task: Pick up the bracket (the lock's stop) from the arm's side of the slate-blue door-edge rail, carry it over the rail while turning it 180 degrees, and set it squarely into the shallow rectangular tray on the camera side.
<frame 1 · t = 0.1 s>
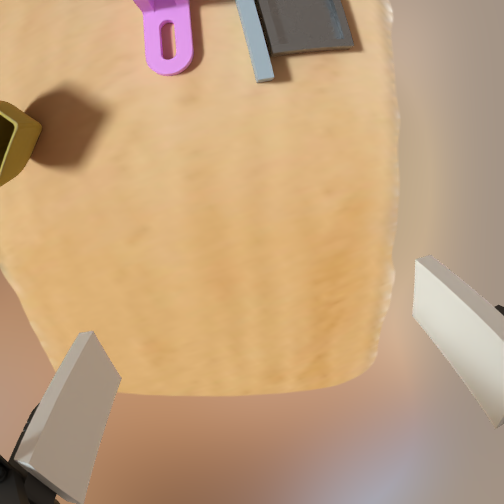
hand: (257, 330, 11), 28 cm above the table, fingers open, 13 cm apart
flower pot: (26, 136, 32), on the table
door edge: (244, 4, 28), on the table
bracket: (169, 29, 29), on the table
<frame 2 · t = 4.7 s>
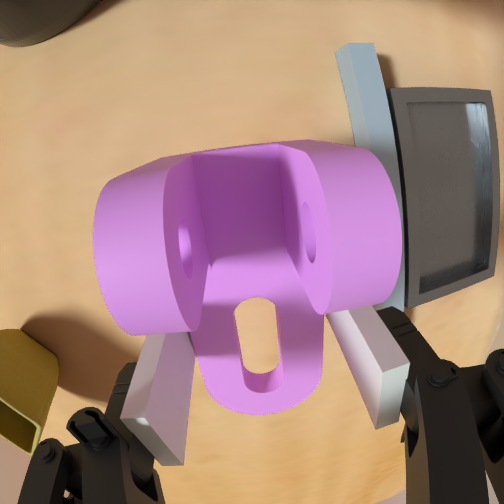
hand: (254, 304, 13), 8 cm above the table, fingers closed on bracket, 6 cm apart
flower pot: (35, 355, 24), on the table
shallow rectangular tray: (444, 191, 20), on the table
door edge: (375, 206, 20), on the table
bracket: (253, 297, 14), point 8 cm above the table, touching gripper
when the fingers open (2 cm above the table, at t = 8.8 s): bracket drops 1 cm, resting on shallow rectangular tray.
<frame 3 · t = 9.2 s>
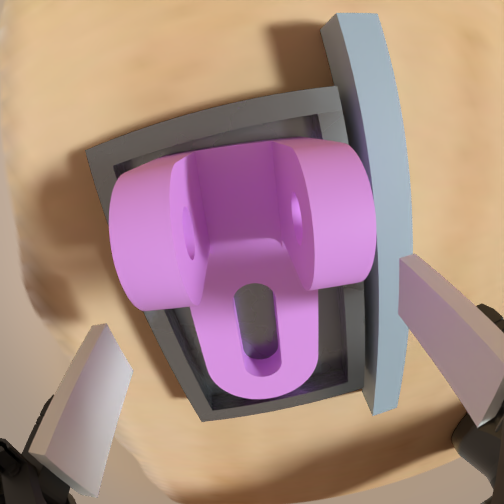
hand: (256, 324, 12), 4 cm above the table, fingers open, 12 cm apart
shallow rectangular tray: (250, 278, 15), on the table
door edge: (374, 248, 15), on the table
bracket: (252, 284, 15), point 1 cm above the table, touching shallow rectangular tray
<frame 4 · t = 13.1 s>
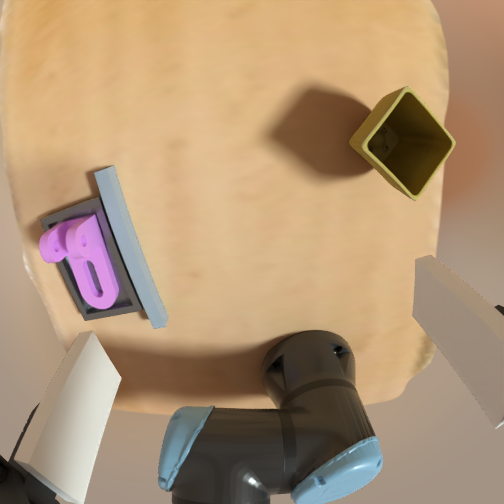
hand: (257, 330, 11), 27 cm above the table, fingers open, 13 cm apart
flower pot: (375, 138, 34), on the table
shallow rectangular tray: (94, 259, 38), on the table
door edge: (134, 248, 38), on the table
bracket: (93, 261, 38), point 1 cm above the table, touching shallow rectangular tray
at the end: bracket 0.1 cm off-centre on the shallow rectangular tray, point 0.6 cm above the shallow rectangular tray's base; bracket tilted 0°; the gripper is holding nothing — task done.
